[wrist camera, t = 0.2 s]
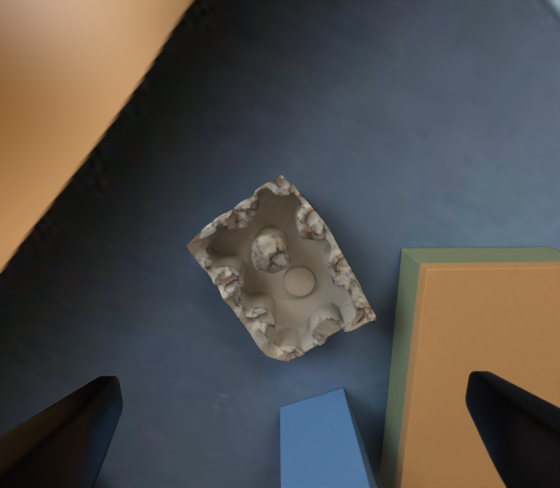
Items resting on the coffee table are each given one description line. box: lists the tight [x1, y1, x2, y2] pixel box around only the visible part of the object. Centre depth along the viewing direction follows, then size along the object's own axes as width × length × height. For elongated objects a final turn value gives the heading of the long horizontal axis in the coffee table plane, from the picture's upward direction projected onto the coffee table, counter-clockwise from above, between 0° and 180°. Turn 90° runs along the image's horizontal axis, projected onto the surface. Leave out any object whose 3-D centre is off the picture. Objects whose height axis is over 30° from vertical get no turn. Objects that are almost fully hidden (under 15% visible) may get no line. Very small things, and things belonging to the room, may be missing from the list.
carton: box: [280, 388, 377, 488], centre depth 23 cm, size 5×5×9 cm
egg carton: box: [187, 175, 377, 361], centre depth 21 cm, size 11×8×4 cm
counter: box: [380, 247, 560, 488], centre depth 24 cm, size 20×10×4 cm, turn 1°
